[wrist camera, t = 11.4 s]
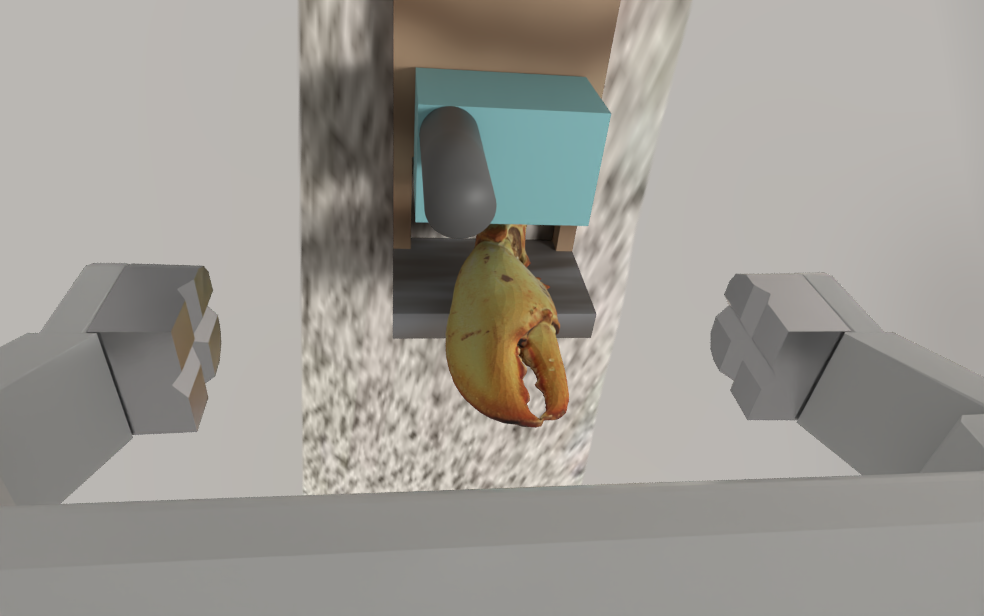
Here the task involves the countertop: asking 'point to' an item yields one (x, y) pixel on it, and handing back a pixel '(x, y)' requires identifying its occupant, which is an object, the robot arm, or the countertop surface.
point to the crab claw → (504, 331)
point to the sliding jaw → (505, 149)
